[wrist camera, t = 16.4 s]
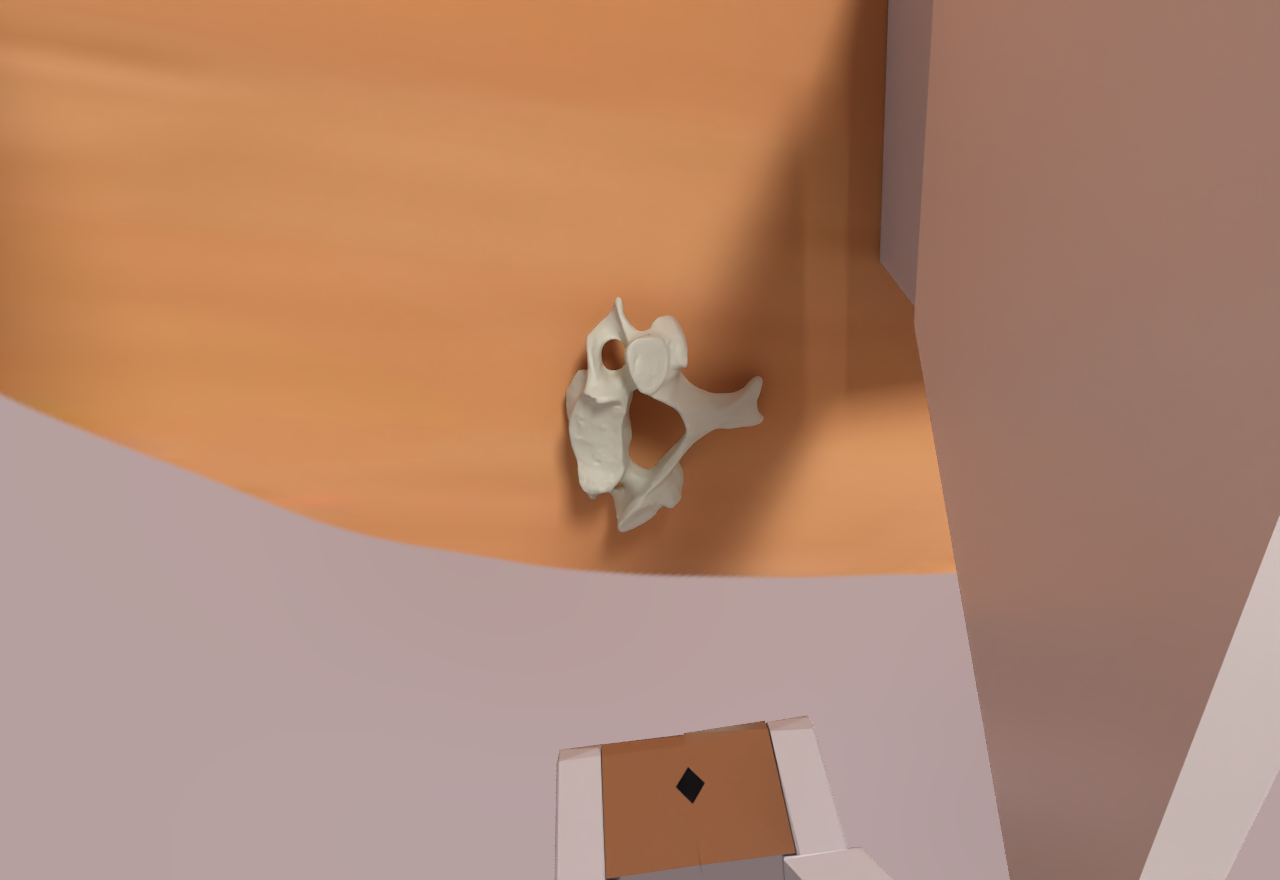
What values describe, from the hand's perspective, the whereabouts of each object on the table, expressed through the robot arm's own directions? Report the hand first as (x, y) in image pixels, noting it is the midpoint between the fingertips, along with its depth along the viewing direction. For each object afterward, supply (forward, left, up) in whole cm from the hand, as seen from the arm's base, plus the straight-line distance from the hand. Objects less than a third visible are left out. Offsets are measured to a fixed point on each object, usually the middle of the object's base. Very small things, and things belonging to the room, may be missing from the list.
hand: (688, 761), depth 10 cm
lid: (+12, 0, -23) cm, 26 cm away
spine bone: (+1, -14, -31) cm, 34 cm away
